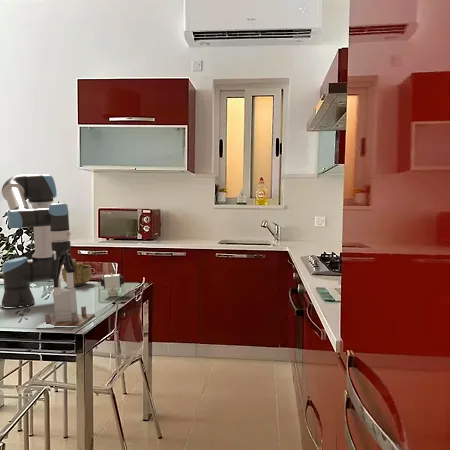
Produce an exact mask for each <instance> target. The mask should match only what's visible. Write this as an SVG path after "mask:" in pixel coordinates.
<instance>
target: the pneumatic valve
mask: <svg viewBox="0 0 450 450" xmlns="http://www.w3.org/2000/svg"><path fill="white" fill-rule="evenodd" d="M124 278H125V277H124V275H121V273H117V274H113V273H112V272H111V273H110V274H106V275H102V277H100V279H99V280H100V282H99V283H100V287H103V289H104V290H105V289H108V291H107V296H108V297H110V298H111V297H112V298H113V297H117V296H118V295H119V290H118V289H117V288H122V285H125V280H124Z"/></svg>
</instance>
